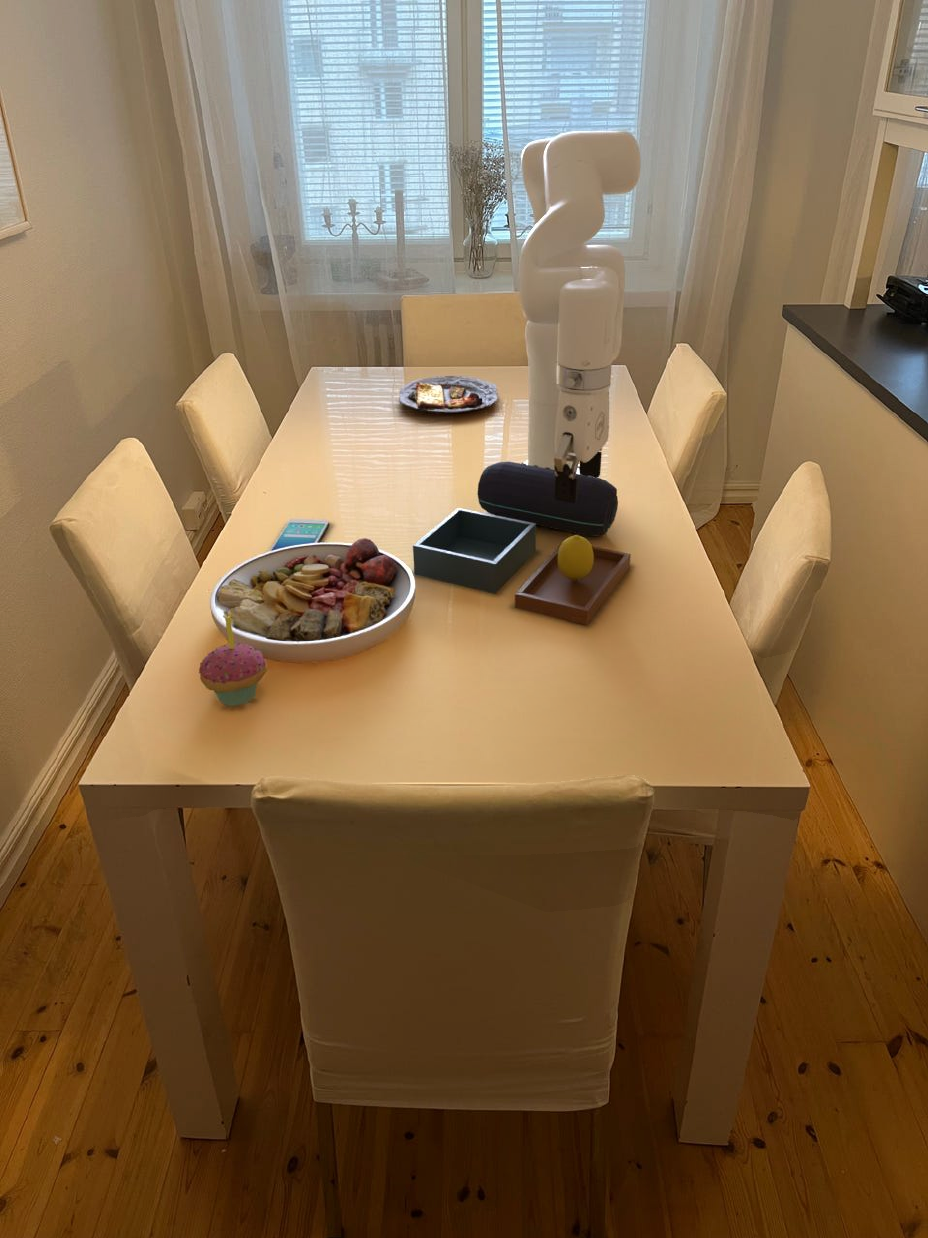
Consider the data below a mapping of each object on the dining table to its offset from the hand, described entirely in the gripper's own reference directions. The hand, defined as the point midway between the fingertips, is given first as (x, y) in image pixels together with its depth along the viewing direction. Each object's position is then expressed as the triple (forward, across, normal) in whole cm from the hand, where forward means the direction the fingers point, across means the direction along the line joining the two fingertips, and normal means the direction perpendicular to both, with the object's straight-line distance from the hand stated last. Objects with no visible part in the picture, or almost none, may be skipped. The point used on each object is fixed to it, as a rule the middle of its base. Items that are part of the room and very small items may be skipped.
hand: (577, 487), depth 138 cm
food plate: (+19, +69, +59) cm, 93 cm away
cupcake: (+16, -47, +29) cm, 57 cm away
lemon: (+16, -1, -1) cm, 16 cm away
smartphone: (+17, -7, +48) cm, 51 cm away
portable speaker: (+17, +18, +12) cm, 28 cm away
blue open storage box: (+17, 0, +17) cm, 24 cm away
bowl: (+16, -26, +31) cm, 44 cm away
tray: (+16, -1, -1) cm, 17 cm away
